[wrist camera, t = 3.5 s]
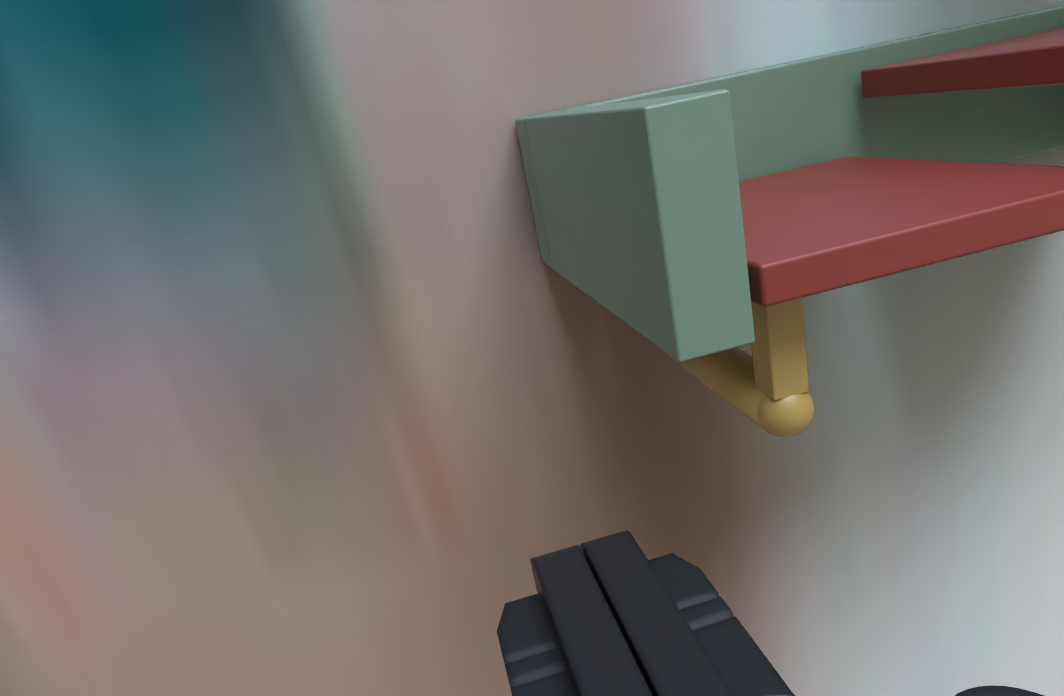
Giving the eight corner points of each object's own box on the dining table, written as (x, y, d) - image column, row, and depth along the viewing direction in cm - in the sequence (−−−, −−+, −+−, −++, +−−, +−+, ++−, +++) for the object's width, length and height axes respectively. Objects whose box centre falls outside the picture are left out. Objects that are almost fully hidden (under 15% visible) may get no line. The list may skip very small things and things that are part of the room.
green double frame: (1081, 134, 26) (1544, 134, 16) (541, 262, 23) (679, 363, 13) (1086, 0, 25) (1598, -94, 14) (514, 119, 22) (643, 106, 12)
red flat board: (856, 286, 24) (1132, 373, 15) (623, 346, 23) (779, 477, 14) (849, 155, 23) (1147, 169, 14) (602, 212, 21) (759, 265, 13)
